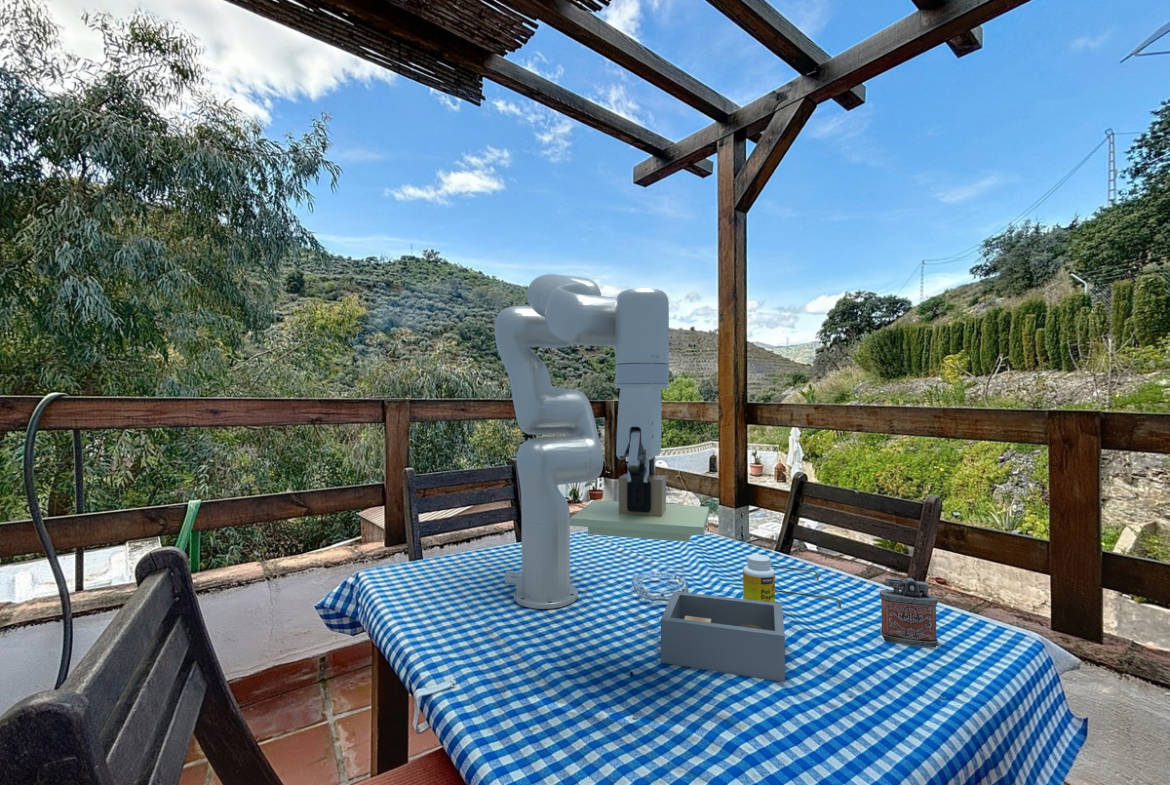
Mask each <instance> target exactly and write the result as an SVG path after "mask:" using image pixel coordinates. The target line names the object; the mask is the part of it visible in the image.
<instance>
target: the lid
mask: <svg viewBox="0 0 1170 785" xmlns="http://www.w3.org/2000/svg"><path fill="white" fill-rule="evenodd" d="M627 477H628V473H624V474H623V475H620V477H618V501H614V500H613V501H612V500H593V501H592V502H589V503H588V504H587V505H586V506H584V507H582V509H580V510H579V511H577V512H576V513H575V514H573V515H571V516H570V518H569V526H571V527H582V528H583V527H585V528H587V535H595V536H607V537H622V538H632V539H646V540H661V541H673V542H674V541H675V542H686V543H687V542H690V540H691V536H692V535H695V536H704V534H705V531H706V526H707V525H708V524H707V523H708V519H709V516H710V506H699V505H683V504H668V503H667V476H666V475H659V474H657V475H649V482H650V483H651V510H650V512H631V511H628V510H627V482H628V480H627Z"/></svg>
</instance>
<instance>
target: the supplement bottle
mask: <svg viewBox="0 0 1170 785" xmlns="http://www.w3.org/2000/svg"><path fill="white" fill-rule="evenodd" d="M770 565H772V564H771V558H770V557H769V556H768V555H763V554H758V553H757V554H749V555H748V556H747V565H745V566H744V567H743V569H742V591H743V592H742V599H747V600H756V601H764V602H773V603H776V592H775V590H776V573H775V569H774V568H773V567H770Z"/></svg>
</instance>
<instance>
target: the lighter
mask: <svg viewBox="0 0 1170 785" xmlns="http://www.w3.org/2000/svg"><path fill="white" fill-rule="evenodd" d="M884 586H885V587H888V588H893V589H881V590H880V591H879V596H880V598H881V600H880V601H881V602H880V603H881V607H880V608H881V612H880V613H881V614H880V615H881V629H880V632H879V633H880V634H881V636H882V638H883V640H884V641H885V642H888V643H893V644H898V645H904V646H910V647H912V646H913V647H921V648H933V647H934V648H937V647H938V646H939V643H938V642H939V640H938V638H937V604H938V597H937V596H935V595H933V594H928V593H929V582H926V581H918V580H917V581H916V580H914V579H913V578H912V577H906V578H905V579H902V578H898V577H888V576H887V577H886V578H884ZM900 589H901V590H900ZM936 646H937V647H936Z"/></svg>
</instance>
